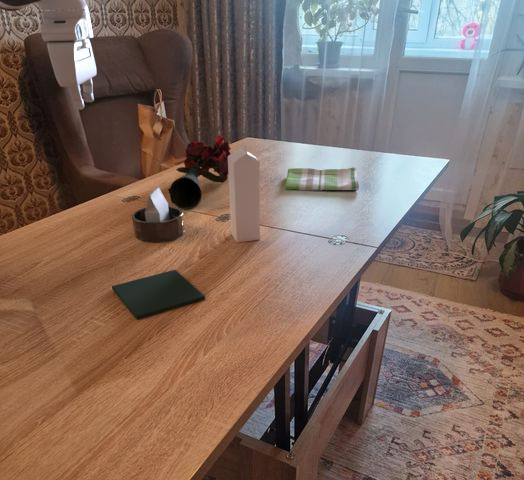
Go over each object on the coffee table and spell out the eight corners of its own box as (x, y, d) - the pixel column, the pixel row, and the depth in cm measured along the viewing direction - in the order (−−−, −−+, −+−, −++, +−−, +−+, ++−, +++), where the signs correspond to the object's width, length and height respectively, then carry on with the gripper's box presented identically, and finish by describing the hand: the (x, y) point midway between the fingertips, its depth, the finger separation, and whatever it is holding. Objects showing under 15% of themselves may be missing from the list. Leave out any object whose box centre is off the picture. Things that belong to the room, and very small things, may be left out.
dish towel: (358, 192, 149) (360, 181, 147) (284, 190, 151) (285, 179, 149) (355, 177, 163) (356, 166, 161) (287, 175, 165) (288, 164, 163)
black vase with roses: (194, 235, 141) (205, 191, 169) (240, 194, 134) (244, 155, 161) (153, 195, 134) (172, 156, 161) (200, 150, 126) (211, 117, 154)
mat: (136, 319, 88) (136, 316, 88) (112, 289, 98) (111, 285, 98) (204, 299, 95) (204, 295, 94) (175, 272, 104) (175, 269, 104)
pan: (145, 246, 116) (142, 226, 113) (128, 230, 124) (124, 211, 121) (192, 235, 121) (190, 216, 118) (172, 221, 130) (170, 202, 127)
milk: (236, 243, 117) (232, 147, 105) (230, 233, 122) (226, 141, 109) (260, 239, 119) (259, 145, 106) (253, 231, 124) (251, 139, 111)
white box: (170, 226, 125) (166, 187, 119) (162, 236, 119) (157, 196, 114) (157, 225, 125) (151, 186, 119) (148, 235, 120) (142, 195, 114)
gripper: (66, 26, 104) (81, 98, 112) (37, 30, 87) (57, 114, 95) (95, 26, 104) (108, 97, 112) (72, 29, 87) (89, 113, 96)
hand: (85, 105), depth 104 cm, fingers open, 8 cm apart
